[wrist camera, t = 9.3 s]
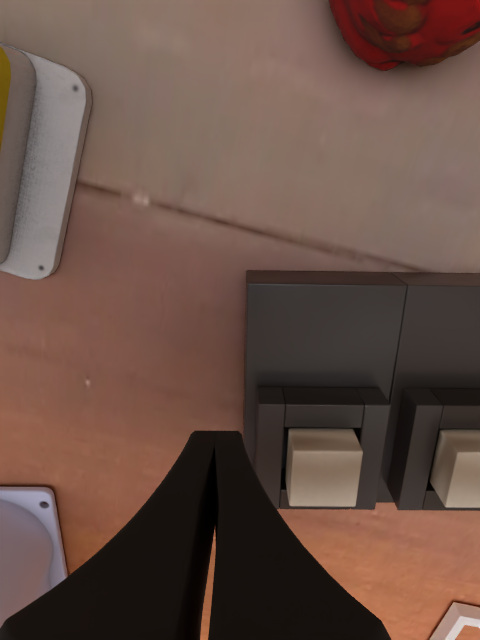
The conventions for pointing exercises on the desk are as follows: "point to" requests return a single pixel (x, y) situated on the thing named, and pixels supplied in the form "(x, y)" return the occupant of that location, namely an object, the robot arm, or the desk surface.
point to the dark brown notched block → (431, 383)
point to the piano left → (319, 367)
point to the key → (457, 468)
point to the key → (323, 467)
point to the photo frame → (456, 621)
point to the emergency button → (38, 158)
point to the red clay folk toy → (407, 29)
